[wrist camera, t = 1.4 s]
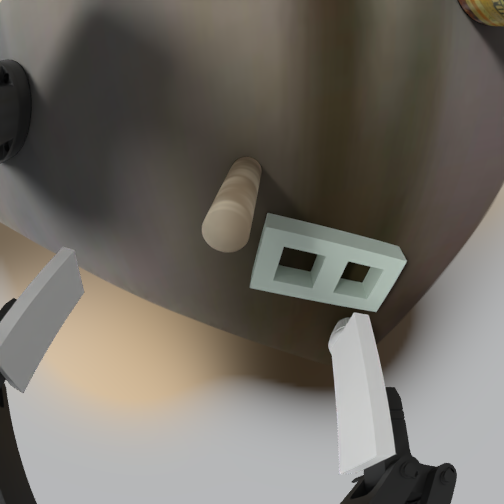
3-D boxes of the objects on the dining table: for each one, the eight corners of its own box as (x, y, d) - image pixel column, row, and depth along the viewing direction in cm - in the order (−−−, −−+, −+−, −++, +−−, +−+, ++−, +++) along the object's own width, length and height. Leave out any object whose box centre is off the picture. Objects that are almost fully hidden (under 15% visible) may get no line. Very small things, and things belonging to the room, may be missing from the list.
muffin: (351, 341, 41) (357, 379, 35) (318, 331, 40) (321, 371, 34) (375, 316, 37) (386, 355, 31) (341, 304, 36) (349, 345, 31)
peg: (229, 181, 28) (199, 246, 18) (234, 153, 27) (204, 205, 17) (258, 187, 28) (244, 256, 19) (264, 160, 27) (254, 216, 17)
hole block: (252, 271, 34) (249, 287, 32) (267, 212, 30) (265, 226, 27) (371, 295, 35) (376, 312, 33) (398, 246, 31) (407, 261, 28)
